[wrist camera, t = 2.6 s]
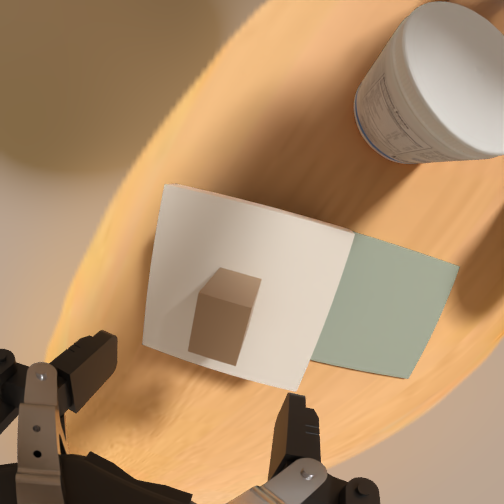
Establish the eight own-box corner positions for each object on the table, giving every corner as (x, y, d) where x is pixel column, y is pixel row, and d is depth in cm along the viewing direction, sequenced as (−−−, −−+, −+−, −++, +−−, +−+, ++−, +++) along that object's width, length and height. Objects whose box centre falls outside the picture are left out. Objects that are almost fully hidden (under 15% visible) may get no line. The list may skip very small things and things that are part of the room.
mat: (349, 230, 27) (350, 231, 27) (457, 265, 26) (459, 266, 26) (305, 356, 31) (305, 358, 30) (407, 376, 30) (408, 378, 29)
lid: (176, 183, 22) (128, 186, 15) (349, 229, 21) (373, 251, 14) (152, 332, 26) (113, 376, 19) (296, 376, 25) (294, 434, 18)
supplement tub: (403, 57, 22) (469, -15, 8) (456, 136, 23) (555, 117, 9) (329, 100, 24) (361, 25, 10) (388, 184, 26) (473, 191, 11)
